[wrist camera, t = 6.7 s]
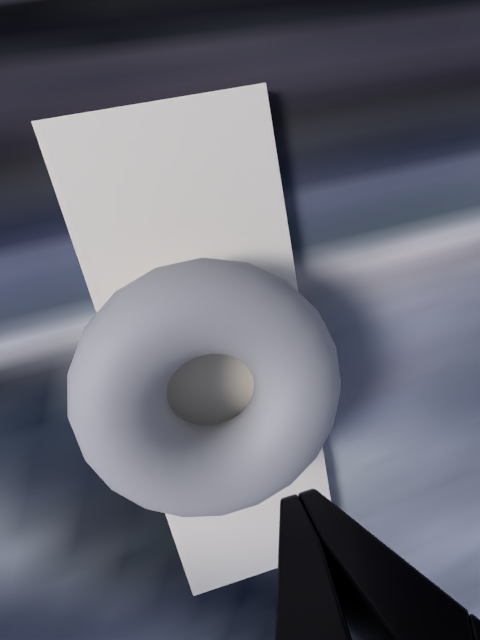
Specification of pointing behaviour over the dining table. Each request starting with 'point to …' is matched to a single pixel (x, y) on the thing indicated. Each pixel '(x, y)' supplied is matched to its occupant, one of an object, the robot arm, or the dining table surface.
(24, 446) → the dining table surface
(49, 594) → the dining table surface
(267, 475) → the donut
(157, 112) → the placemat
